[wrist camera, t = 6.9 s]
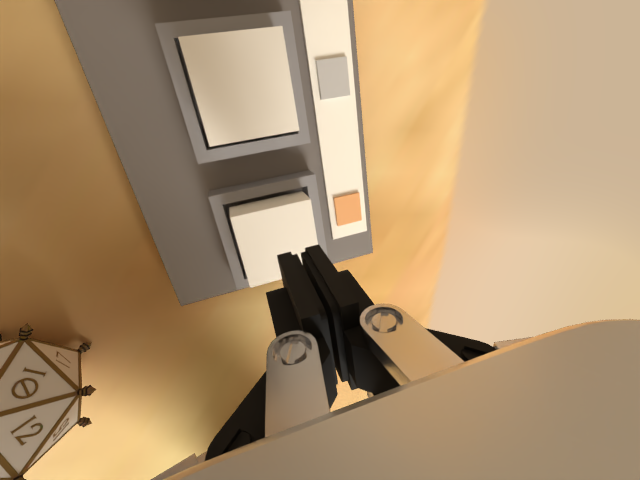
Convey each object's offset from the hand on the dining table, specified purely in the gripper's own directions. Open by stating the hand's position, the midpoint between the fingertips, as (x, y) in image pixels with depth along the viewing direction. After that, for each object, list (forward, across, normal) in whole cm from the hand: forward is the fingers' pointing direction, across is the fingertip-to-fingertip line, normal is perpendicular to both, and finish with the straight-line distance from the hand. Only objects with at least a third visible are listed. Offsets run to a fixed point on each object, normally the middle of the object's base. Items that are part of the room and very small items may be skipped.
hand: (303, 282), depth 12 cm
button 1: (+8, 0, +1) cm, 8 cm away
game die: (+11, +17, +7) cm, 22 cm away
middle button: (+8, 0, -7) cm, 11 cm away
